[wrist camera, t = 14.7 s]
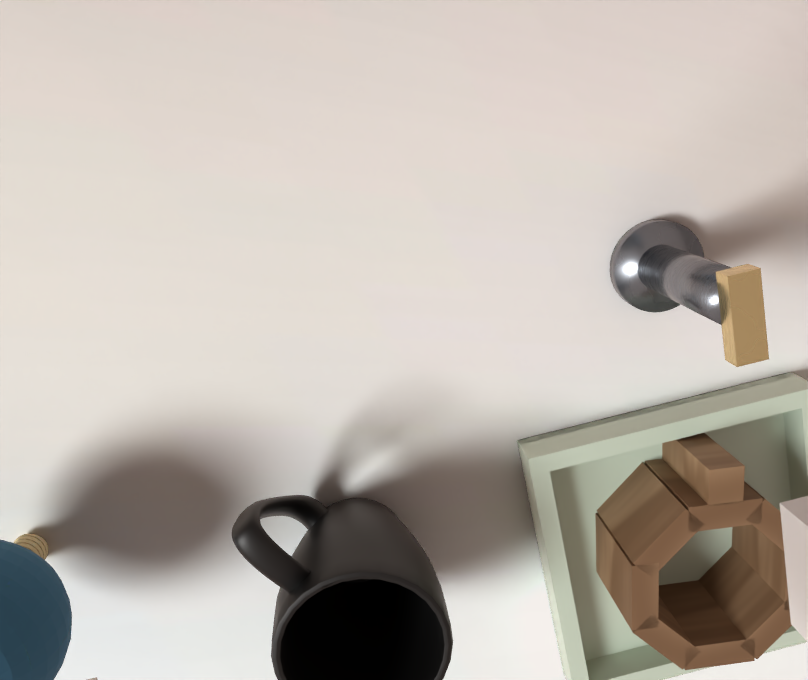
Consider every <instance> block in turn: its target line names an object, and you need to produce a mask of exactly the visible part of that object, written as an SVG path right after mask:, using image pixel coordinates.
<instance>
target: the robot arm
mask: <svg viewBox="0 0 808 680" xmlns="http://www.w3.org/2000/svg"><path fill="white" fill-rule="evenodd" d="M780 513H781V523H782V534H783V544H784V555H785V566H786V576H787V587H788V597H789V608H790V619H791V625H792V626H793V627H794V628H795V629H796V630H797V631H798V632H799V633H800V634H801V635H802V636H803V637H804V639H805V640H806V641H807V642H808V496H805V497H801V498H797V499H793V500H789V501H785V502H781V503H780ZM88 680H98V679H97V677H96V678H92V679H88Z"/></svg>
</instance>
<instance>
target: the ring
mask: <svg viewBox="0 0 808 680" xmlns="http://www.w3.org/2000/svg"><path fill="white" fill-rule="evenodd" d="M744 474H745V466H744V465H743V464H742V463H741V462H740V461H738V460H737V459H736V458H735V457H733V456H732V455H731V454H730V453H729V452H727V451H726V450H725V449H724V448H722V447H721V446H720V445H719V444H718V443H716V442H715V441H714V440H713V439H711V438H710V437H709V436H708V435H707V434H705V433H701V434H697V435H693V436H689V437H685V438H681V439H677V440H673V441H669V442H665V443H662V459H656V460H647V461H645V464H644V463H643V462H642V463H641V464H640V465H639V466H638V467H637V468H636V469H635V470H634V471H633V472H632V473H631V475H630V476H629V477H628V478H627V479H626V480H625V481H624V482H623V483H622V484H621V485H620V486H619V487H618V488H617V489H616V490H615V491H614V493H613V494H612V495H611V496H610V497H609V498H608V499H607V500H606V501H605V502H604V503H603V504H602V505H601V506H600V507H599V508H598V509H597V510H596V511H597V512H598V513H595V520H596V572H597V574H598V575H599V577H600V579H601V580H602V582H603V584H604V585H605V587H606V589H607V590H608V592H609V594H610V595H611V597H612V599H613V600H614V602H615V604H616V605H617V607H618V609H619V610H620V612H621V614H622V615H623V617H624V619H625V620H626V622H627V624H628V625H629V627H630V629H631V630H632V632H633V633H634V634H635V635H636V636H638V637H639V638H640V639H642V640H643V641H645V642H646V643H647V644H649V645H650V646H651V647H653V648H654V649H655V650H657V651H658V652H659V653H661V654H662V655H663V656H665V657H666V658H667V659H669V660H670V661H671V662H673V663H674V664H676V665H677V666H678V667H680V668H681V669H682V670H683V669H685V670H691V669H698V668H705V667H712V666H720V665H727V664H734V663H741V662H748V661H754V657H755V658H756V659H758V658H759V657H760V656H761V655H762V654H763V653H764V652H765V651H766V650H767V649H768V648H769V647H770V646H771V645H772V644H773V643H774V642H775V641H776V640H778V639H779V638H780V637H781V636H782V635H783V634H784V633H785V632H786V631H787V630H788V629H789V628H790V627H791V626H792V625H791V619H790V608H789V597H788V587H787V576H786V566H785V555H784V544H783V534H782V523H781V513H780V511H779V510H778V509H777V508H775V507H774V506H773V505H772V504H771V503H770V502H768V501H767V500H766V499H765V498H764V497H763V496H761V495H760V494H759V493H758V492H757V491H756V490H754V489H753V488H752V487H751V486H750V485H748V484H747V483H746V482H745V481H744ZM729 527H732V547H731V548H730V549H729V550H728V551H727V552H726V553H725V554H724V555H723V556H722V557H721V558H720V559H719V560H718V561H717V562H716V563H715V564H714V565H713V566H712V567H711V568H710V569H709V570H708V571H707V572H706V573H705V574H704V575H703V576H702V577H701V578H700V579H699V580H696V581H688V582H681V583H673V584H665V585H659V570H660V569H661V568H662V567H663V566H664V565H665V564H666V563H667V562H668V561H669V560H670V559H671V558H672V557H673V556H674V555H675V554H676V553H677V552H678V551H679V550H680V549H681V548H682V547H683V546H684V545H685V544H686V543H687V542H688V541H689V540H690V539H691V538H692V537H693V536H694V535H695V534H696V533H697V532H698V531H705V530H713V529H721V528H729Z"/></svg>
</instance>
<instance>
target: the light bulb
mask: <svg viewBox="0 0 808 680" xmlns="http://www.w3.org/2000/svg"><path fill="white" fill-rule="evenodd" d="M47 555H48V544H47V543H46V541H45V540H44V539H43V538H41V537H40V536H38V535H35V534H24V535H22V536H19V537H18V538H17V539H16V540H15V541H14V543H11V542H7V541H4V540H0V680H54V678H55V676H56V675H57V673H58V671H59V670H60V668H61V666H62V664H63V661H64V658H65V655H66V652H67V649H68V646H69V642H70V639H71V625H72V612H71V606H70V601H69V598H68V595H67V593H66V590H65V588H64V586H63V583H62V581H61V579H60V578H59V576H58V575H57V573H56V572H55V570H54V569H53V568H52V567H51V566H50V565H49V564H48V563H47V562H46V561H45V559H46V557H47Z"/></svg>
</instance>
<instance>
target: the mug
mask: <svg viewBox="0 0 808 680" xmlns="http://www.w3.org/2000/svg"><path fill="white" fill-rule="evenodd" d="M270 516H288V517H292V518H294V519H296V520H298V521H299V522H301V523H302V524H303V525H304V526H305V527H306V528H307V529H308V531H307V532H306V534H305V535H304V537H303V538H302V540H301V542H300V543H299V545H298V546H297V548H296V550H295V552H294V553H293V555H292V557H291V556H290V555H289V554H287V553H286V552H285V551H284V550H283V549H282V548H280V547H279V546H278V545H277V544H276V543H275V542H274V541H273V540H272V539H271V538H270V537H269V536H268V535H267V533H266V532H265V531H264V529H263V528H262V526H261V524H260V519H261V518H264V517H270ZM232 539H233V542H234V544H235V545H236V547H237V549H238V550H239V551H240V553H241V554H242V555H243V556H244V558H245V559H246V560H247V561H248V562H249V563H250V564H251V565H253V566H254V567H255V568H256V569H257V570H258V571H260V572H261V573H262V574H263V575H265V576H266V577H267V578H269V579H270V580H271V581H273V582H274V583H275V584H277V585H278V586H280V590H279V593H278V596H277V601H276V609H275V617H274V626H273V635H272V650H271V658H272V662H273V667H274V672H275V675H276V677H277V679H278V680H442V679H443V678H444V676H445V673H446V671H447V668H448V665H449V663H450V660H451V653H452V645H453V638H452V631H451V624H450V620H449V616H448V612H447V608H446V604H445V599H444V596H443V592H442V588H441V585H440V583H439V581H438V578H437V576H436V573H435V571H434V569H433V566H432V564H431V562H430V560H429V558H428V556H427V555H426V553H425V551H424V550H423V548H422V547H421V546H420V544H419V543H418V542H417V540H416V539H415V538H414V536H413V535H412V534H411V532H410V531H409V530H408V529H407V527H406V526H405V525H404V524H403V523H402V522H401V521H400V520H399V519H398V518H397V516H396V515H395V514H394V513H393V512H392V511H391V510H390V509H389V508H387V507H386V506H384V505H382V504H380V503H378V502H376V501H373V500H369V499H361V498H353V499H347V500H342V501H339V502H337V503H334V504H332V505H330V506H329V507H327V508H325V507H324V506H323V505H322V504H321V503H320V502H319V501H317V500H316V499H314V498H312V497H309V496H304V495H292V496H282V497H274V498H269V499H265V500H261V501H257V502H255V503H253V504H252V505H250V506H249V507H247V508H246V509H245V510H244V511H243V512H242V513H241V514H240V515H239V517H238V519H237V520H236V522H235V524H234V526H233V529H232Z"/></svg>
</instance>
